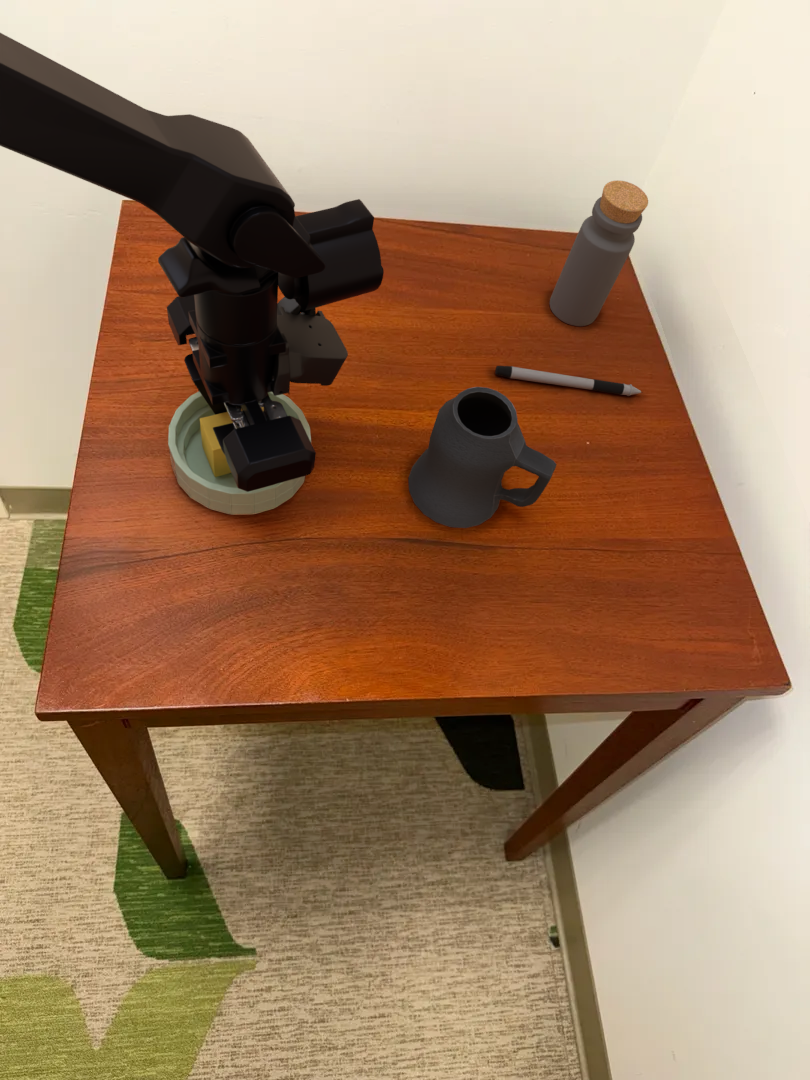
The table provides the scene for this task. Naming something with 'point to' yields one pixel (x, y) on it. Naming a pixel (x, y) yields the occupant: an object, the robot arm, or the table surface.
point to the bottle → (598, 254)
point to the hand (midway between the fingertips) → (240, 446)
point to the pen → (565, 380)
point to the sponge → (215, 442)
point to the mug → (475, 461)
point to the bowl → (198, 473)
